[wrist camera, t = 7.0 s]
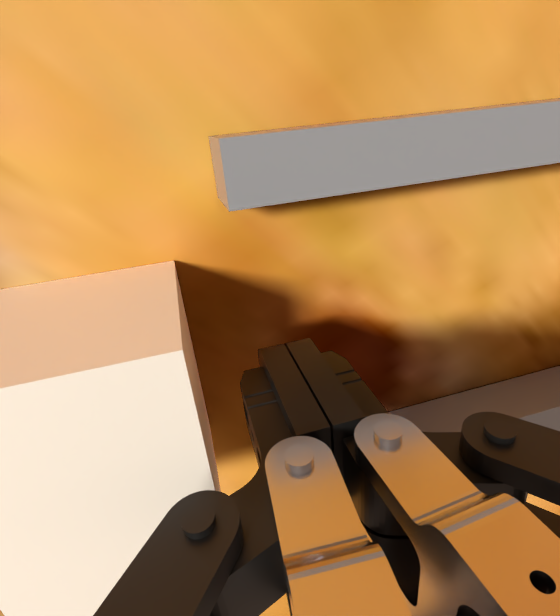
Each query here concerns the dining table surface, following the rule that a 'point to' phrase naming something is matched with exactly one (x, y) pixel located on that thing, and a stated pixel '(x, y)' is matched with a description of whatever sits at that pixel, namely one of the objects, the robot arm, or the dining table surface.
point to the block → (93, 432)
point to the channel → (399, 172)
